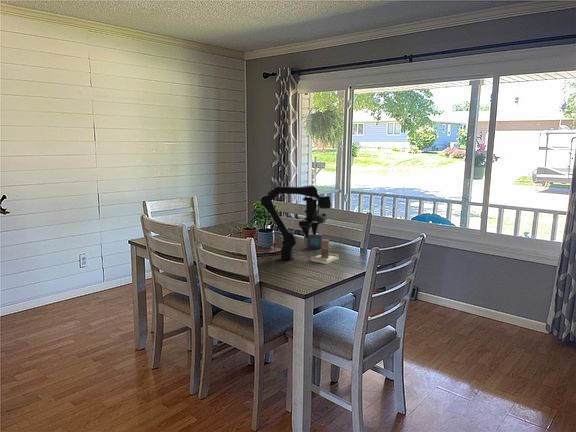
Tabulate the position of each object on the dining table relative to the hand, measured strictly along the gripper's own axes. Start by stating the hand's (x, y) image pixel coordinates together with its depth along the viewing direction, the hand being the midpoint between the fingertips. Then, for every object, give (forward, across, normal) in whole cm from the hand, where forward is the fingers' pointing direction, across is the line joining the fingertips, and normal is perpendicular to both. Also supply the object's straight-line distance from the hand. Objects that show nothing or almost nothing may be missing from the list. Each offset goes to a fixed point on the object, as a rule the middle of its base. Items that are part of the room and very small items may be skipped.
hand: (310, 236), depth 239 cm
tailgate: (+13, +3, -8) cm, 15 cm away
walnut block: (+12, +3, -8) cm, 14 cm away
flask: (+13, +23, +8) cm, 28 cm away
